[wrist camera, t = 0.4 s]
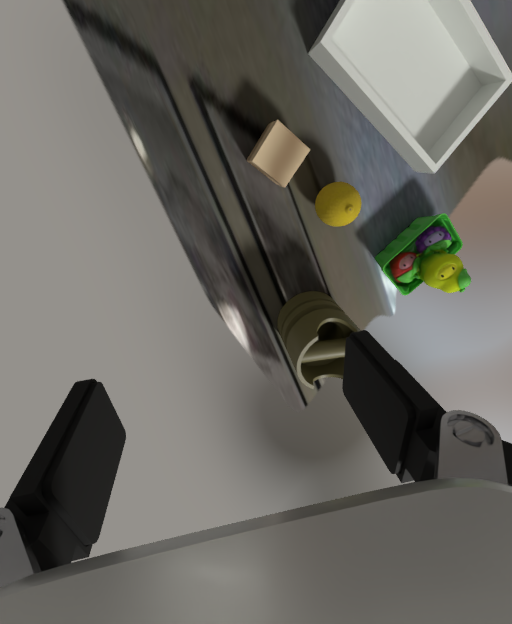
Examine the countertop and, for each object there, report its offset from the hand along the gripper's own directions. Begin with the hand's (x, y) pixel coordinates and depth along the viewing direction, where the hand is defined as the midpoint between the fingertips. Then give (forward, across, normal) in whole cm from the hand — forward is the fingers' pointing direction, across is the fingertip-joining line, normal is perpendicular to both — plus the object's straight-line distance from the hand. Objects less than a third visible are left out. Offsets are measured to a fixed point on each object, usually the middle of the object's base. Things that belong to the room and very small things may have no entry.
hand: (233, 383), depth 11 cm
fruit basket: (+34, -31, +9) cm, 47 cm away
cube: (+34, -9, -7) cm, 36 cm away
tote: (+34, -26, -15) cm, 45 cm away
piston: (+34, -14, +20) cm, 42 cm away
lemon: (+34, -17, 0) cm, 38 cm away
